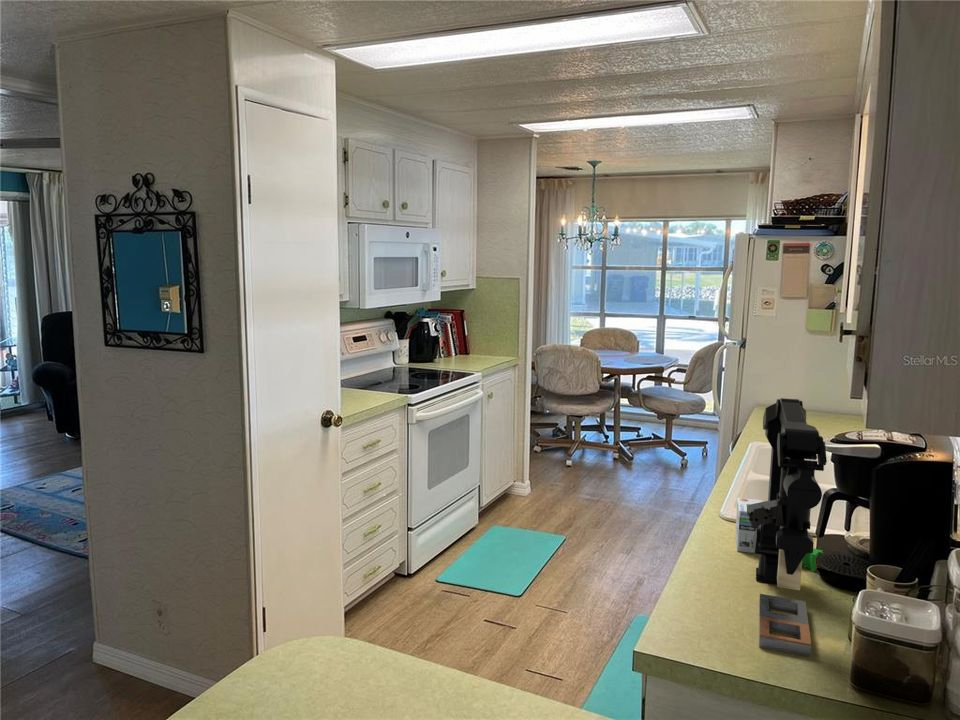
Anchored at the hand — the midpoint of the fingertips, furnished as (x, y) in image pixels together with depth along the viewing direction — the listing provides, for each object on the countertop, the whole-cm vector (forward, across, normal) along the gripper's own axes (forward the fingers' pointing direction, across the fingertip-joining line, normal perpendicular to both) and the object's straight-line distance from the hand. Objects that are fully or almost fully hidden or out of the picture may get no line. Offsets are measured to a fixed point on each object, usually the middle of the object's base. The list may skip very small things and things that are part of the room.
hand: (789, 569), depth 141 cm
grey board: (+14, -3, 0) cm, 14 cm away
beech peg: (+3, 0, 0) cm, 3 cm away
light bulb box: (+13, -44, -7) cm, 46 cm away
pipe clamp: (+13, -36, +6) cm, 39 cm away
